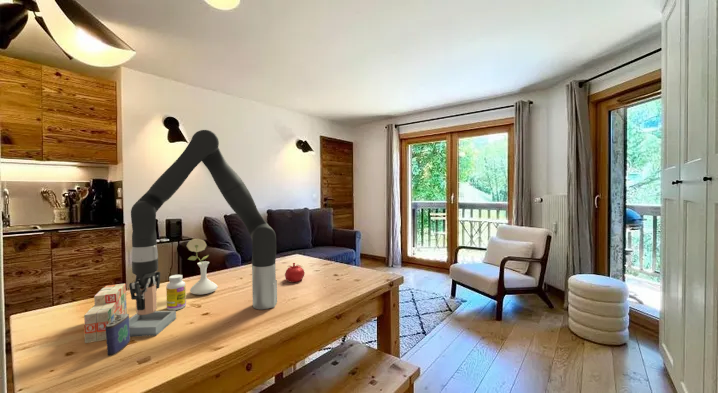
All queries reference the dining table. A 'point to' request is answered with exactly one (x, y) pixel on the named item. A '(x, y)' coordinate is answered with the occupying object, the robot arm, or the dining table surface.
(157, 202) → the robot arm
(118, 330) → the flask
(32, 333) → the dining table surface
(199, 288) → the flower in vase
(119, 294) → the stack of blocks
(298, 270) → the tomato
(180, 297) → the supplement bottle
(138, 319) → the tray
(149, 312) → the beaker
